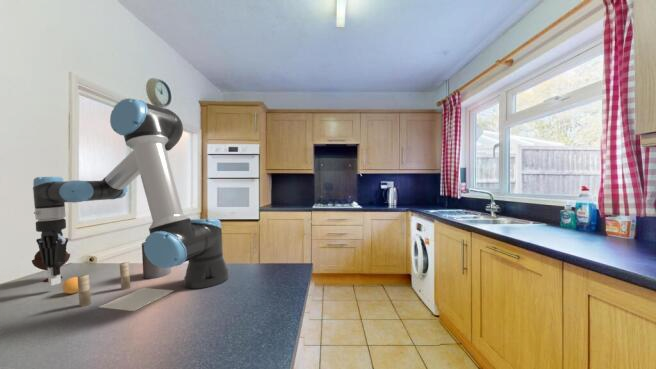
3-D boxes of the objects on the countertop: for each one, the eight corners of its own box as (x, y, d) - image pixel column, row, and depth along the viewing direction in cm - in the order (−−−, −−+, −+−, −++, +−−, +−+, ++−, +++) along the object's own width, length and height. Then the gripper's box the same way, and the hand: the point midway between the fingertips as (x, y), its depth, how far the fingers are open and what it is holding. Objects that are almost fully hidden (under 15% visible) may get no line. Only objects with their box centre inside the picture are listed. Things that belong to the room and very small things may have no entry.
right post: (132, 287, 95) (130, 262, 95) (124, 289, 93) (123, 264, 93) (126, 286, 96) (125, 262, 96) (119, 289, 93) (117, 264, 93)
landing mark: (174, 291, 89) (174, 290, 89) (133, 311, 76) (133, 310, 76) (142, 288, 93) (142, 288, 93) (98, 307, 80) (98, 306, 80)
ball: (88, 290, 94) (87, 275, 94) (69, 296, 89) (68, 280, 89) (77, 289, 96) (76, 274, 96) (58, 295, 91) (57, 280, 91)
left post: (92, 303, 83) (91, 274, 83) (83, 306, 81) (81, 277, 80) (87, 302, 84) (85, 274, 84) (77, 306, 81) (75, 277, 81)
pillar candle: (139, 276, 107) (136, 239, 106) (165, 269, 115) (163, 235, 114) (149, 280, 101) (147, 242, 101) (176, 272, 109) (173, 237, 109)
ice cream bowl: (78, 274, 114) (76, 240, 114) (49, 284, 103) (46, 246, 103) (56, 275, 115) (54, 240, 115) (25, 285, 104) (22, 247, 104)
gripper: (25, 221, 93) (29, 287, 93) (49, 220, 89) (53, 289, 90) (52, 218, 100) (55, 279, 101) (75, 217, 97) (79, 281, 97)
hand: (54, 284), depth 95 cm, fingers closed
